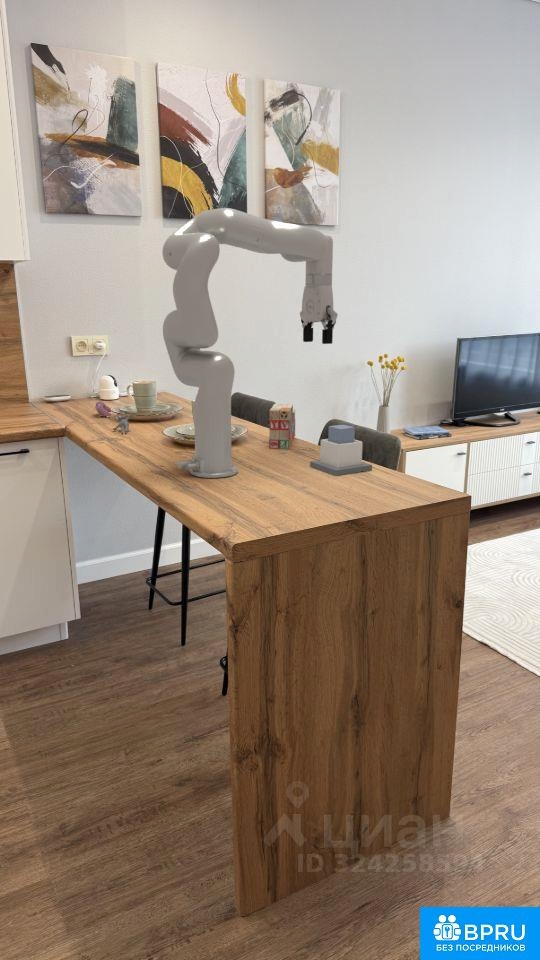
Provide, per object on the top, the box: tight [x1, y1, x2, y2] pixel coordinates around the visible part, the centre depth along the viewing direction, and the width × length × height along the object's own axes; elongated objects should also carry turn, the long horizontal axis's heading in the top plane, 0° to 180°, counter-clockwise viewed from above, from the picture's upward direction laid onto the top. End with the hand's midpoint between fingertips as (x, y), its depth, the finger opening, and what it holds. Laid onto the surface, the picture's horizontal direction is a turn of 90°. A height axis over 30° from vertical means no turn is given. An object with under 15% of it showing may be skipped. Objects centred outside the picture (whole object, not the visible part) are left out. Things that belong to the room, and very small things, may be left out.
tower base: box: [309, 438, 373, 477], centre depth 189 cm, size 12×12×8 cm
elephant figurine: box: [112, 412, 135, 434], centre depth 239 cm, size 10×6×9 cm
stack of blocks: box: [268, 403, 296, 450], centre depth 223 cm, size 21×6×12 cm, turn 173°
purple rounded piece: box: [94, 400, 112, 417], centre depth 271 cm, size 10×5×7 cm, turn 8°
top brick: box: [327, 424, 356, 444], centre depth 188 cm, size 5×5×5 cm
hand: (317, 342), depth 202 cm, fingers open, 9 cm apart
